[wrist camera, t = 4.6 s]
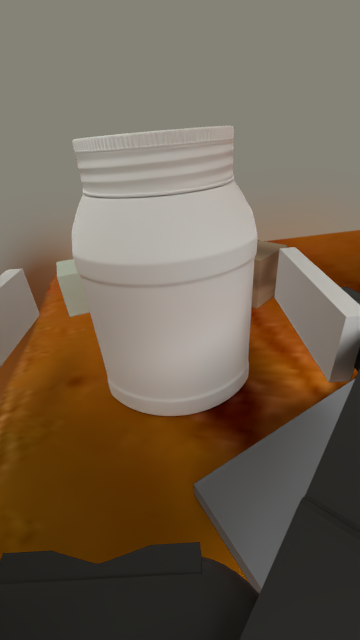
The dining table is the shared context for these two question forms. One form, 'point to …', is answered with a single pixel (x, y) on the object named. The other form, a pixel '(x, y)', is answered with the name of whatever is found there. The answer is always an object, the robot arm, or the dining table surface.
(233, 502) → the mat
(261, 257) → the walnut block
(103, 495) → the dining table surface
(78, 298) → the sage block
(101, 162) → the jar
